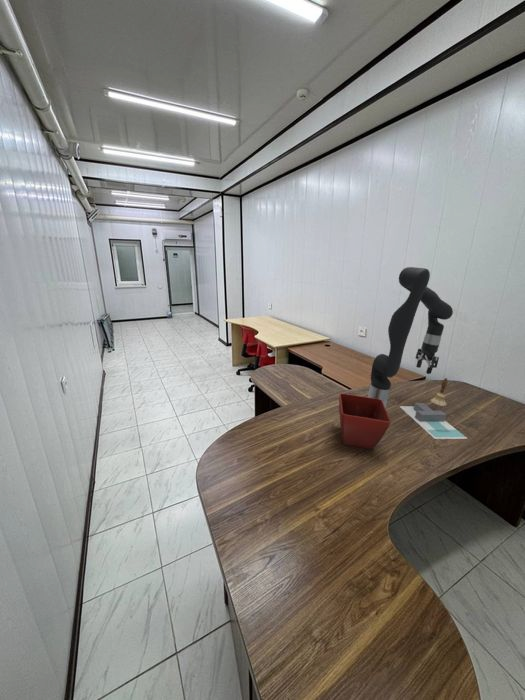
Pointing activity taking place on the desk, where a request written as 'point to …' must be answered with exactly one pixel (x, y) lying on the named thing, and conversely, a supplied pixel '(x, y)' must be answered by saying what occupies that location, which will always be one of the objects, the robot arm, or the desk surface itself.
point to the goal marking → (443, 430)
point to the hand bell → (440, 395)
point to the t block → (428, 413)
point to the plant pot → (362, 420)
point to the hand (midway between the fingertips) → (423, 370)
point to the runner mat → (426, 426)
